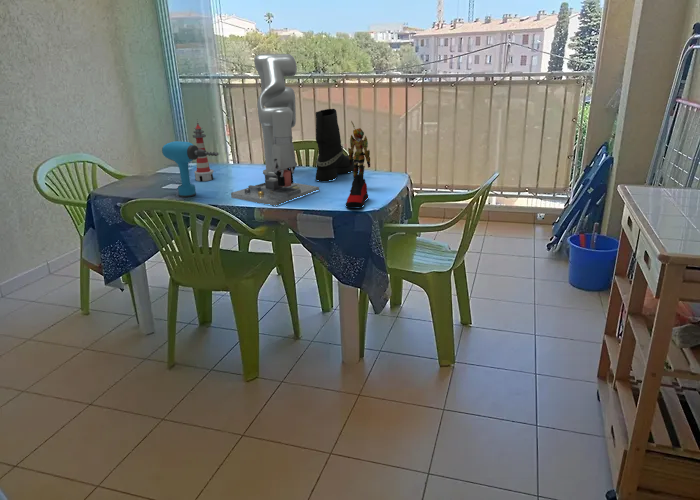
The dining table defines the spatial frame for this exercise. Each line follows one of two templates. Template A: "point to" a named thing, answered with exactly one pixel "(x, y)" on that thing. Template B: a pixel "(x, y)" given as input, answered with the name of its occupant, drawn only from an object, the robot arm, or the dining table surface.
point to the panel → (273, 193)
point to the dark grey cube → (270, 176)
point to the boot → (330, 147)
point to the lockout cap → (287, 177)
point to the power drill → (184, 162)
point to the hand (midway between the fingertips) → (285, 184)
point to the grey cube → (272, 184)
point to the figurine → (358, 151)
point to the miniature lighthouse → (202, 158)
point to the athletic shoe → (357, 192)
